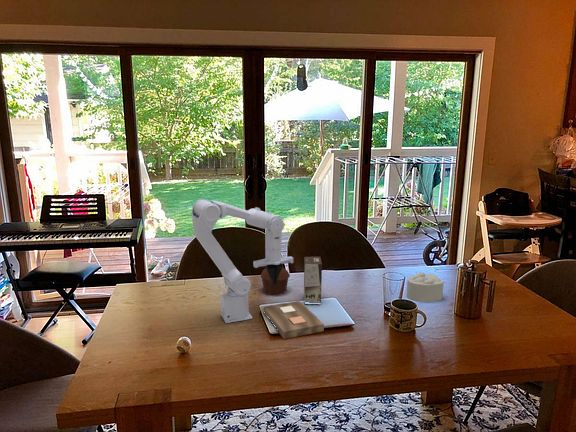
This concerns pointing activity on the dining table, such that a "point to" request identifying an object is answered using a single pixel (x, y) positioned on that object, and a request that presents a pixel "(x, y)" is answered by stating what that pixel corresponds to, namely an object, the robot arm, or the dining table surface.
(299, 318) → the terracotta key
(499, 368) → the dining table surface
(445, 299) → the dining table surface
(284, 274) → the muffin
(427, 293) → the lumpy-topped squat cylinder
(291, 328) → the key block
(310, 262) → the coffee box
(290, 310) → the cream small block
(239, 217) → the robot arm
